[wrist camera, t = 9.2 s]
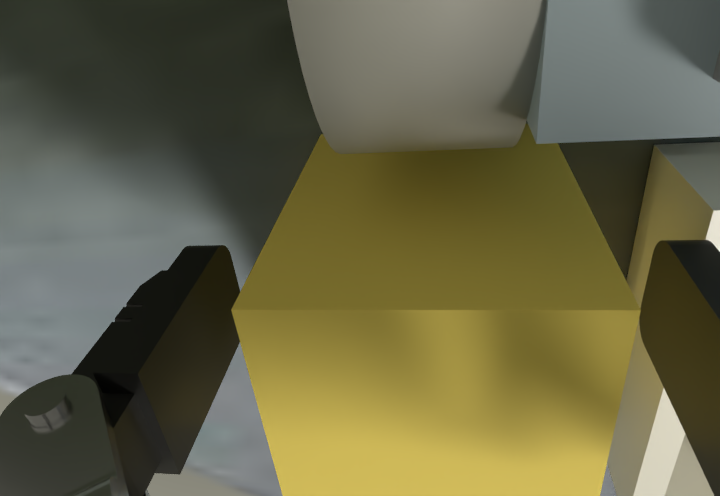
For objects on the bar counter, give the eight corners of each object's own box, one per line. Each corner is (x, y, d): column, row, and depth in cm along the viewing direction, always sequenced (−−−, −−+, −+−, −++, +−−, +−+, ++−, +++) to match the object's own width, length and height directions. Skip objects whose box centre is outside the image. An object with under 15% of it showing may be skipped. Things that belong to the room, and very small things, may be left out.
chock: (321, 133, 13) (230, 309, 7) (547, 121, 12) (640, 310, 6) (349, 332, 16) (300, 561, 10) (528, 334, 15) (580, 582, 9)
